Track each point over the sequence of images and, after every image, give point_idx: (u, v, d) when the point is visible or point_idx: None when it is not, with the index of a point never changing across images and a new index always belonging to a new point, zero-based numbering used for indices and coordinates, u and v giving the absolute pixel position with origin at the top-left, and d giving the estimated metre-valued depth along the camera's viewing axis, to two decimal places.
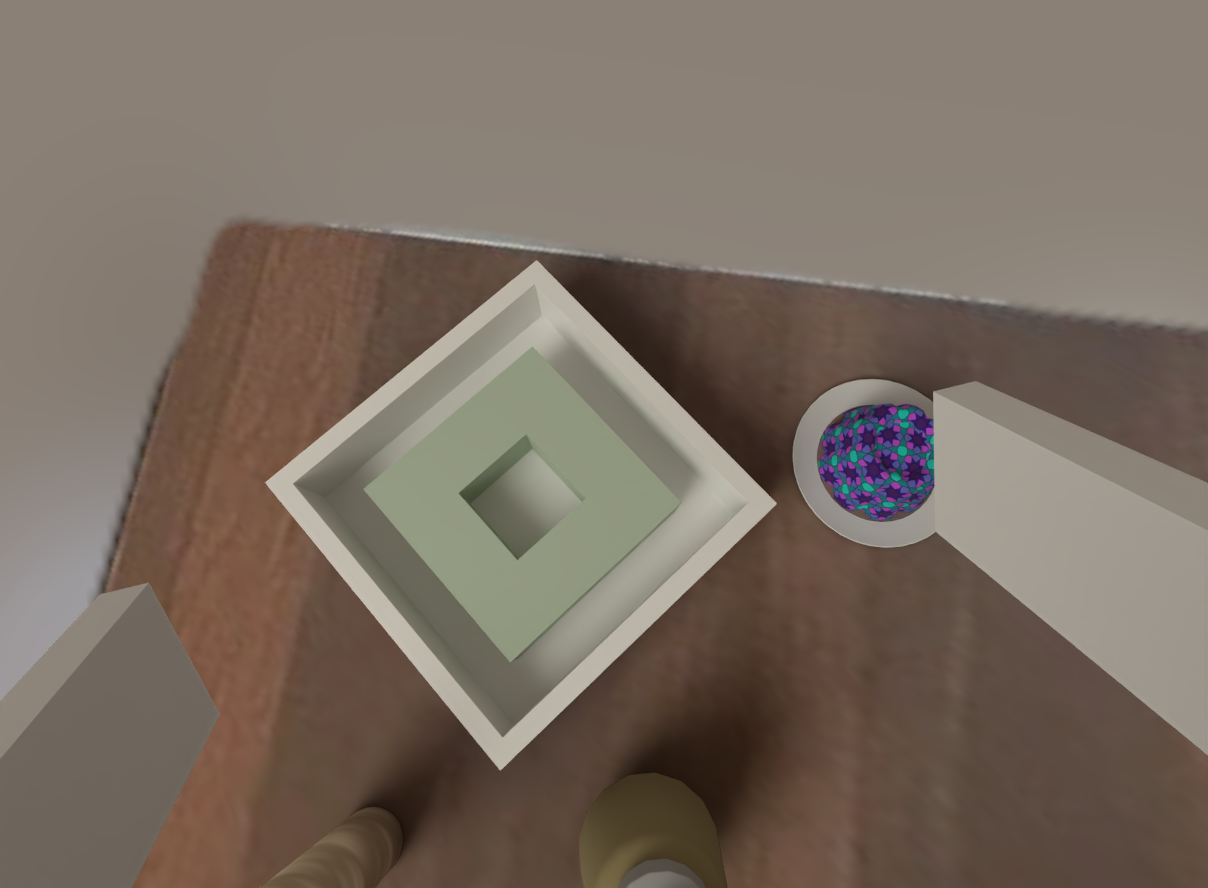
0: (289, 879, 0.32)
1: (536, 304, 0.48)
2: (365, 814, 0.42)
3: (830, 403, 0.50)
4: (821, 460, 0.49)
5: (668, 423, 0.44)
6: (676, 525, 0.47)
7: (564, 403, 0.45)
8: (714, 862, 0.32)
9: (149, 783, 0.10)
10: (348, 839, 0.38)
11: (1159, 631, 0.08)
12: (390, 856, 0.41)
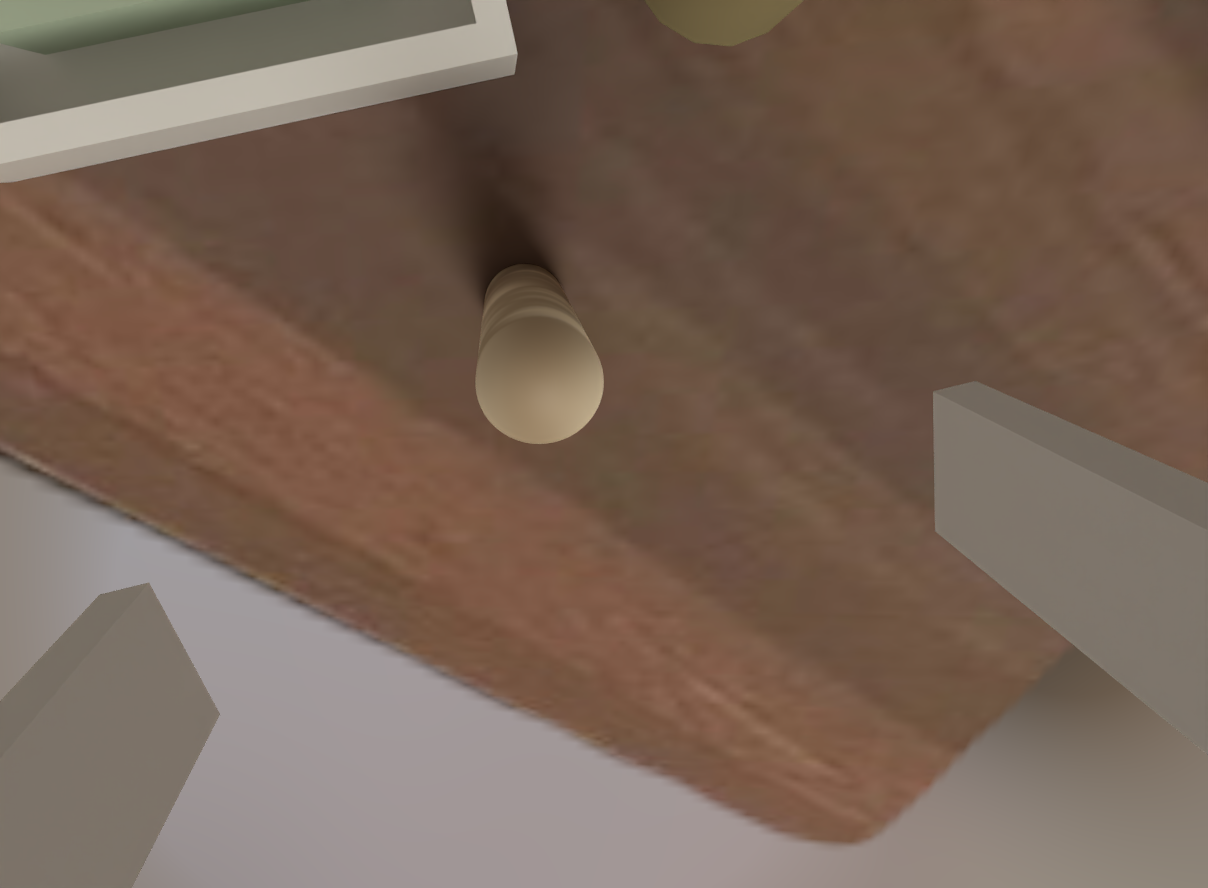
0: (485, 337, 0.23)
1: None
2: (489, 288, 0.32)
3: None
4: None
5: None
6: None
7: None
8: None
9: (150, 782, 0.10)
10: (497, 294, 0.28)
11: (1159, 631, 0.08)
12: (548, 276, 0.32)
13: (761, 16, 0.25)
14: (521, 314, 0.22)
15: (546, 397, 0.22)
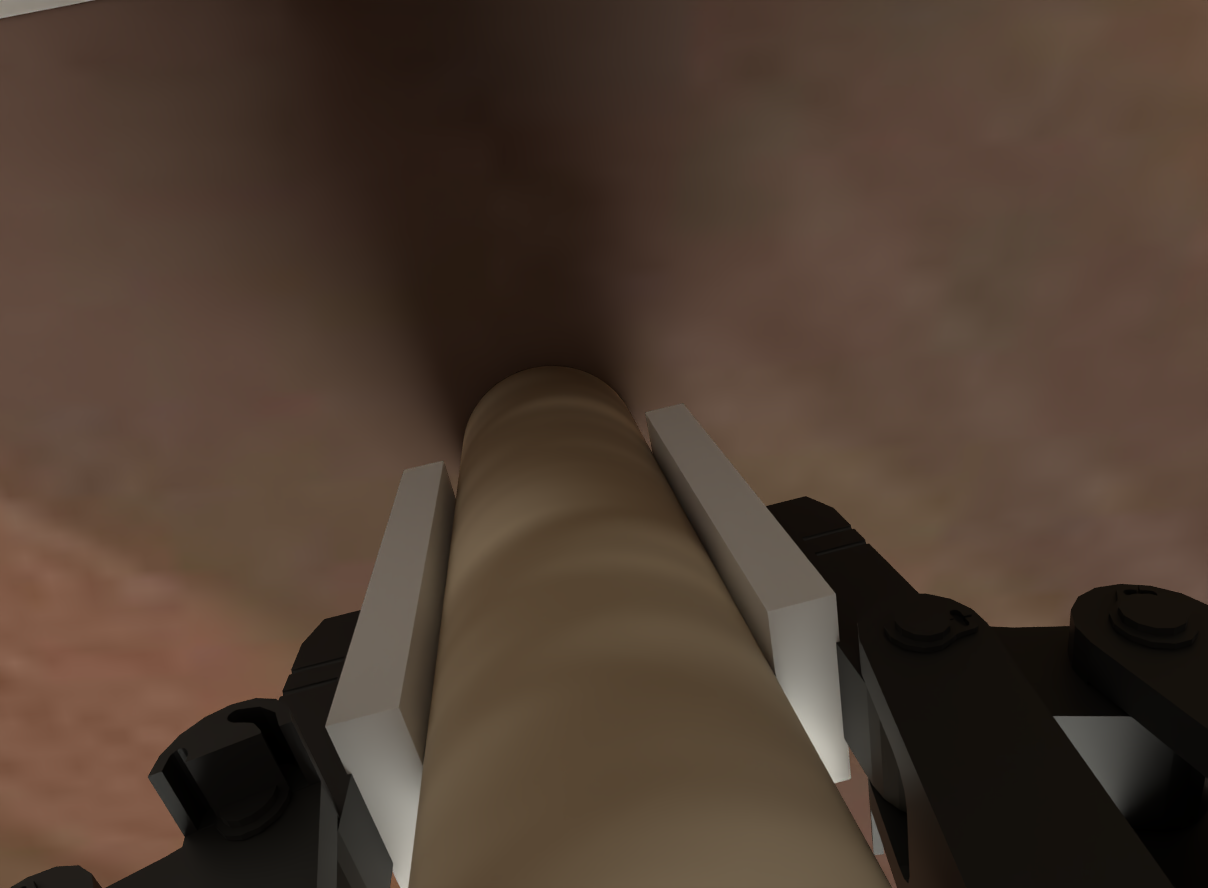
0: None
1: None
2: (472, 434, 0.14)
3: None
4: None
5: None
6: None
7: None
8: None
9: None
10: (487, 515, 0.10)
11: None
12: (614, 414, 0.13)
13: None
14: None
15: None
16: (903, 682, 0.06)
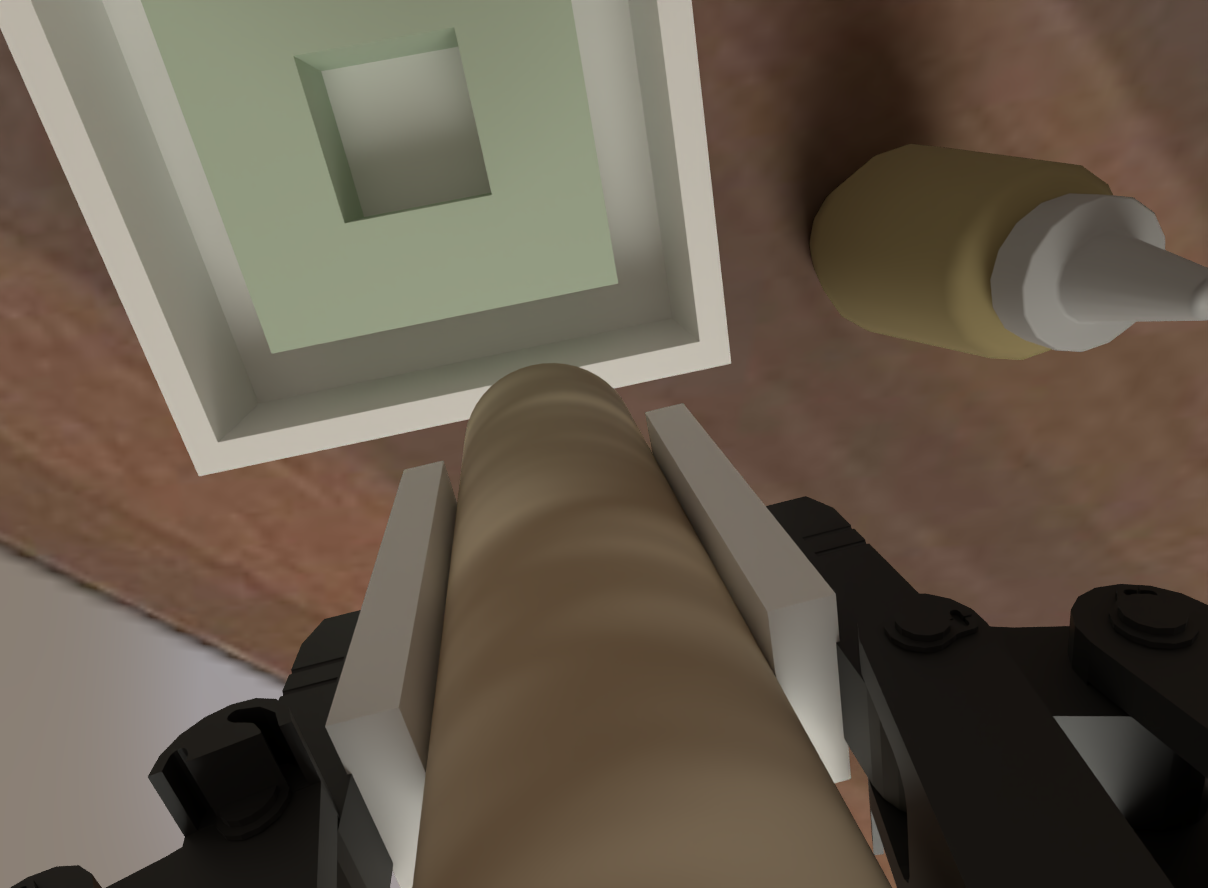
0: None
1: None
2: (474, 429, 0.14)
3: None
4: None
5: None
6: None
7: None
8: (1052, 164, 0.22)
9: None
10: (489, 505, 0.10)
11: None
12: (612, 409, 0.14)
13: None
14: None
15: None
16: (904, 682, 0.06)
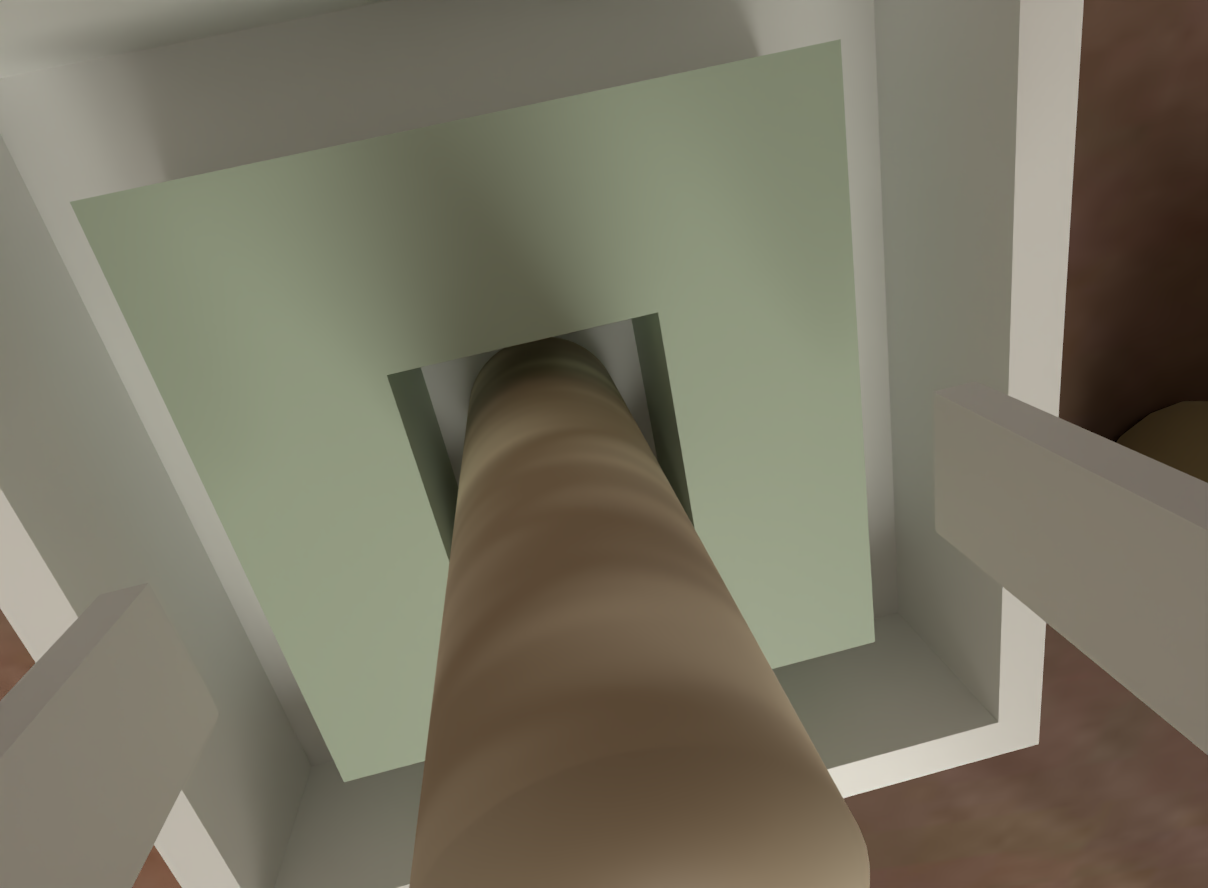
0: (451, 699, 0.07)
1: None
2: (477, 391, 0.17)
3: None
4: None
5: None
6: None
7: (339, 211, 0.13)
8: None
9: (149, 782, 0.10)
10: (491, 438, 0.12)
11: (1159, 631, 0.08)
12: (594, 372, 0.16)
13: None
14: (572, 644, 0.06)
15: None
16: None
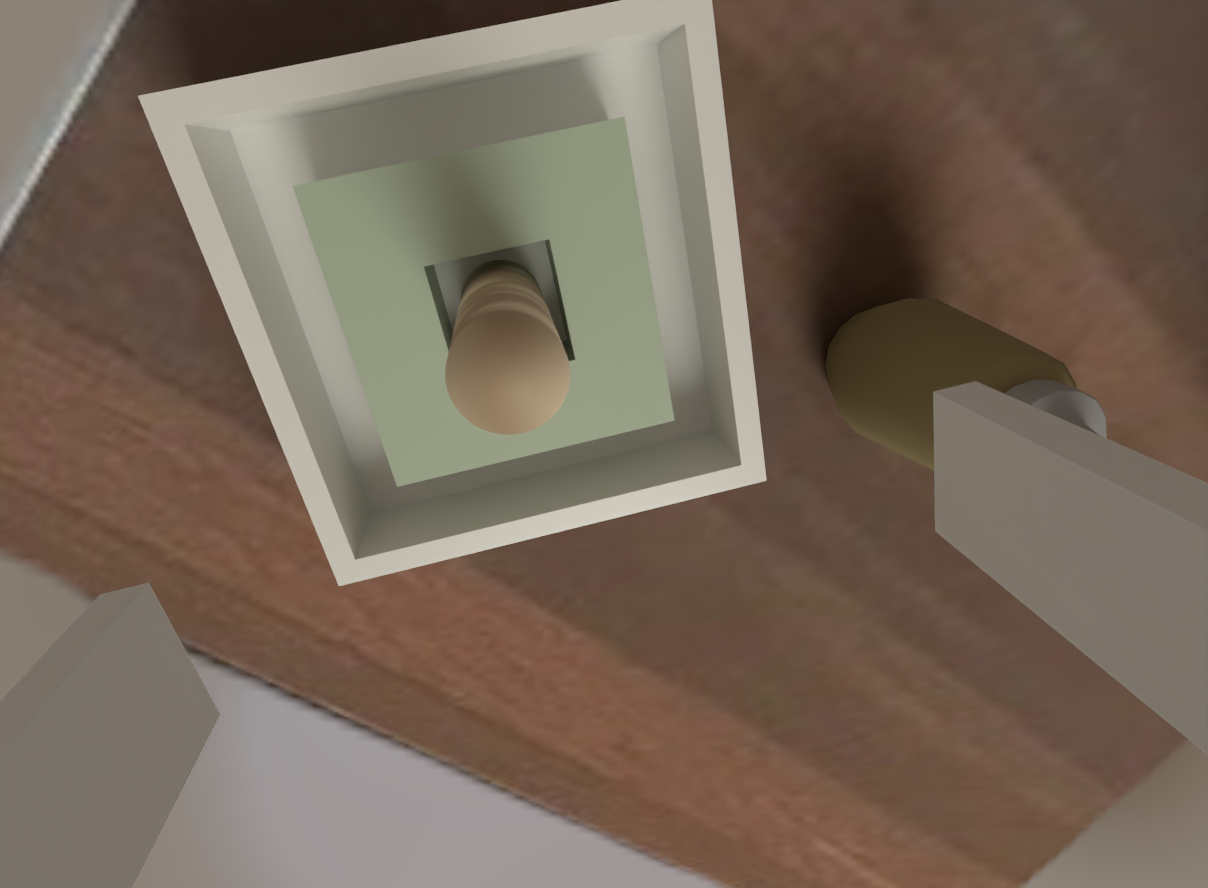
0: (456, 331, 0.23)
1: (214, 134, 0.29)
2: (466, 283, 0.33)
3: None
4: None
5: (511, 60, 0.28)
6: None
7: (405, 191, 0.29)
8: (1020, 352, 0.29)
9: (149, 782, 0.10)
10: (471, 289, 0.29)
11: (1159, 631, 0.08)
12: (523, 272, 0.32)
13: None
14: (490, 308, 0.23)
15: (515, 389, 0.23)
16: None
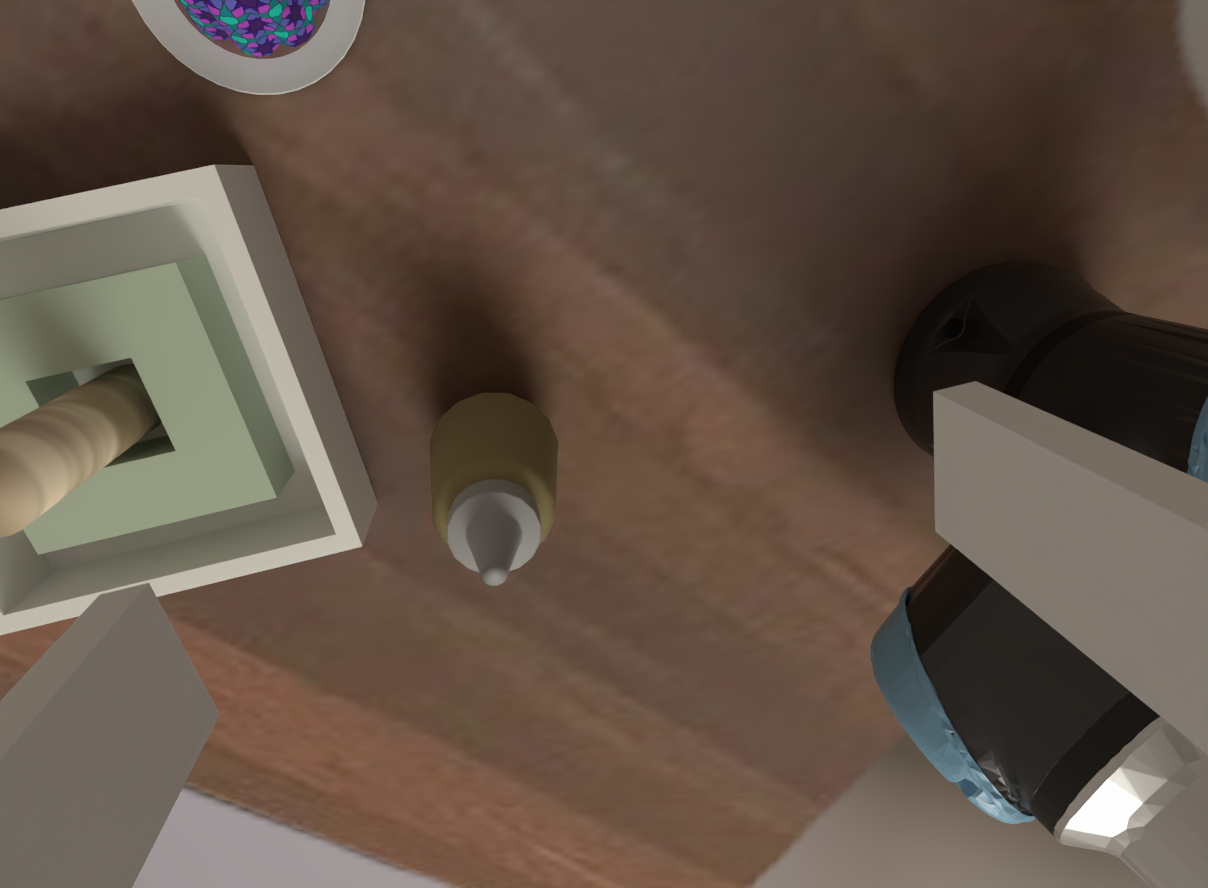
0: None
1: None
2: None
3: (157, 9, 0.36)
4: (242, 50, 0.37)
5: (63, 224, 0.35)
6: (222, 261, 0.40)
7: None
8: (486, 455, 0.35)
9: (149, 782, 0.10)
10: None
11: (1159, 631, 0.08)
12: (129, 380, 0.39)
13: None
14: None
15: None
16: None
